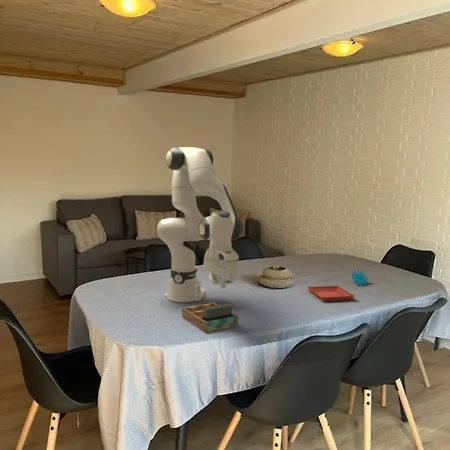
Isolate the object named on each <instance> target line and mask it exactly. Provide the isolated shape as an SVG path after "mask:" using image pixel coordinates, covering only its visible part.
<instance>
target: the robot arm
mask: <svg viewBox="0 0 450 450" xmlns="http://www.w3.org/2000/svg"><path fill="white" fill-rule="evenodd" d="M165 157H166V158H165V162H166V166H167V167H168V168H169V169H170V170H173V172H172V178H171V203H172V204H171V205H172V206H173V207H174V208H175V209H177V210H179V211H180V212H181V213H183V214H184V217H168V218H163V219H160V221H159V222H158V223H157V227H156V233H157V236H158V238H159V239H160V240H161V241H163V242H164V243H165V244H166V246H167V247H168V249H169V251H170V254H171V255H170V256H171V269H170V278H169V279H167V286H166V292H165V293H164V294H163V296H164V297H166V298H167V300H169V301H171V302H175V303H192V302H199V301H202V299H203V297H204V295H205V293H206V291H205V289H203V288H201V286H202V285H201V280H199V278H198V277H197V273H198V267H196V253H195V252H194V251H193V250H192V249H190V248H189V247H186V246H185V245H184V242H194V241H195V242H198V241H203V240H207V241H209V247H208V248H207V249H206V251H205V254H204V256H203V257H204V258H203V263H202V264H203V269H204V270H205V271H207V272H211V276H212V279H213V281H211V282H212V285H213V284H214V285H217V284H219V287H220V288H221V289H225V288H226V287H227V285H226V284H227V283H228V281H236V279H237V278H238V272H239V264H238V260H239V257H240V256H239V254H238V253H237V252H236V251H235V250H234V248H233V247H232V241H237V240H238V239H239V238H240V237H241V236H242V234H243V232H244V224H243V223H242V222H243V221H242V220H241V218H240V216H239V215H238V214H237V213H238V212H237V211H236V208H235V206H234V204H233V200H232V199H231V196H230V194H229V191H228V190H227V187H226V186H225V185H224V183H222V182H221V181H220V179H218V177H217V176H216V174H215V170H214V165H213V164H214V155H213V153H212V151H210V150H209V149H206V148H199V147H192V146H190V147H188V146H183V147H178V146H173V147H170V148H169V149H168V150H167V152H166V156H165ZM196 192H197V193H198V194H200V195H203V196H206V197H210V198H211V199H213V200H215V201H217V202H218V203H219V206H220V209H221V210H214V211H212V213H211V215H209V216H206V217H204V216H203V215H202V213H201V211H200V210H199V208H198V204H197V199H196ZM216 275H218V276H220V277H222V283H218V279H217V276H216Z"/></svg>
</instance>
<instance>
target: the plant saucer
mask: <svg viewBox="0 0 450 450" xmlns="http://www.w3.org/2000/svg"><path fill="white" fill-rule="evenodd" d="M306 288H307V291H308V292H309V293H310V294H311V295H313V296H314V297H316V298H317V299H319V300H320V301H321V302H325V303H326V302H344V301H351V300H352V299H353V298H354V297H355V295H354V294H353V293H351V292H349V291H348V290H346V289H344V288H343V287H341V286H339V285H321V286H306Z"/></svg>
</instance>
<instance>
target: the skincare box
mask: <svg viewBox="0 0 450 450" xmlns="http://www.w3.org/2000/svg"><path fill="white" fill-rule="evenodd" d="M208 272H209V271H208ZM216 276H217V279H218V284H220V283H222V277H220V276H218V275H216ZM208 280H210V281H211V282H212V281H213V279H212V276H211V272H209V273H208Z"/></svg>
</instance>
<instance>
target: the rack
mask: <svg viewBox="0 0 450 450" xmlns="http://www.w3.org/2000/svg"><path fill="white" fill-rule="evenodd" d="M217 305H218V304H217V303H215V302H211V303H206V304H205V303H204V304H199V305H191V306H188V307H187V306H186V307H182V311H181V315H182V316H181V317H182V318H183V319H184V320H186V321H187V322H188V323H190V324H192V325H194V326H195V327H196V329H197V328H198V329H199V330H201V331H202V332H204V333H210V332H214V331H218V330H223V329H229V328H233V327H238V326H239V318H240V317H239V315H237V314H235V313H234V312H232V317H227V318H222V319H217V320H211V321H205V320H203V308H205V307H211V306H217Z"/></svg>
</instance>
